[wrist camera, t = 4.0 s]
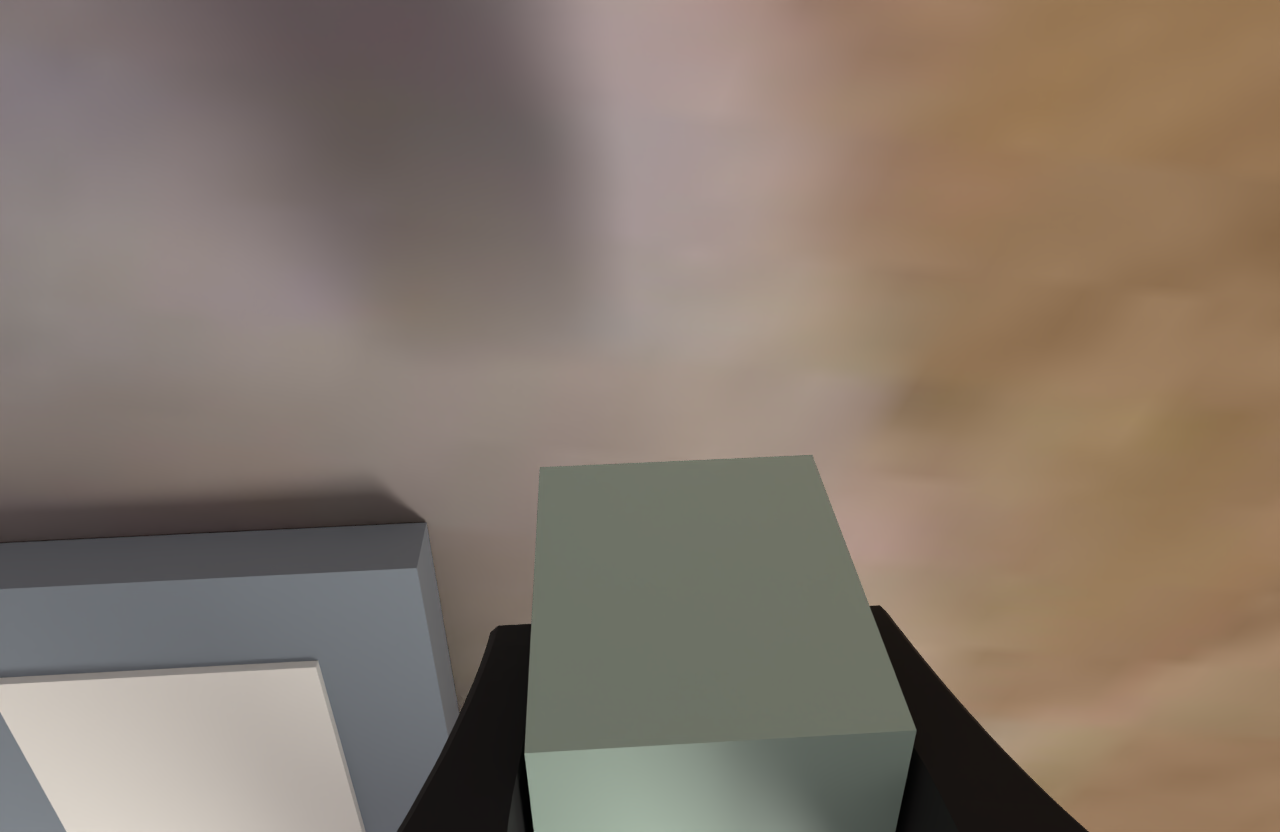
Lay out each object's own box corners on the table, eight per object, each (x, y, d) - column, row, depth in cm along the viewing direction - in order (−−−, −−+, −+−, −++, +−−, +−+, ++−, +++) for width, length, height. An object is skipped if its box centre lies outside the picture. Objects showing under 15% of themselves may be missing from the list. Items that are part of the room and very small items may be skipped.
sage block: (793, 649, 16) (871, 945, 12) (556, 662, 16) (550, 967, 12) (812, 455, 14) (916, 730, 10) (540, 466, 14) (524, 753, 9)
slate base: (482, 850, 27) (477, 907, 26) (55, 877, 27) (25, 937, 25) (426, 522, 21) (415, 574, 19) (-138, 549, 20) (-192, 605, 19)
